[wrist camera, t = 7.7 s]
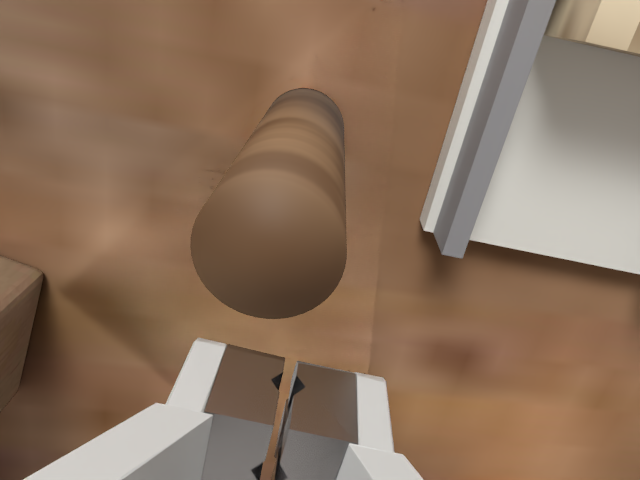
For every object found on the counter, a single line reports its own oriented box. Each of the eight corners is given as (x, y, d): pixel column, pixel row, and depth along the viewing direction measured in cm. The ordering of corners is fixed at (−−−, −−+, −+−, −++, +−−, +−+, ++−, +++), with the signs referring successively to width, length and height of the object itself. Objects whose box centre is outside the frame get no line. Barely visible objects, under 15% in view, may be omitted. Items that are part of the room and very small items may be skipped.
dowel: (334, 174, 27) (328, 331, 14) (259, 158, 26) (183, 303, 14) (352, 97, 25) (363, 196, 12) (271, 80, 25) (198, 163, 12)
